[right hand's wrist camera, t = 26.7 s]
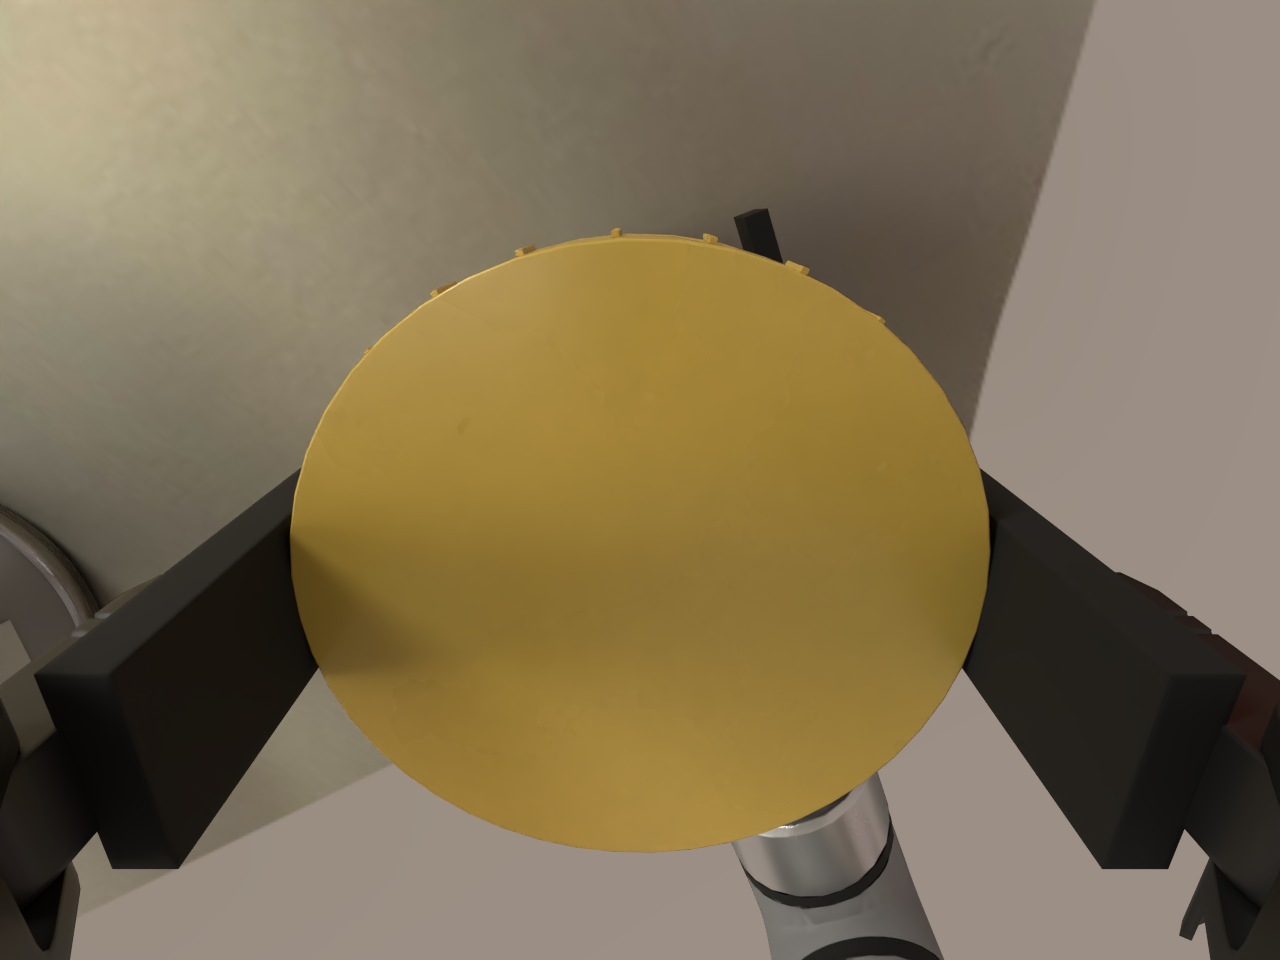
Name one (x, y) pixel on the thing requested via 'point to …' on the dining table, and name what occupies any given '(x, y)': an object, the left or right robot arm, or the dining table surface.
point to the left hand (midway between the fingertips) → (599, 271)
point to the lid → (640, 544)
